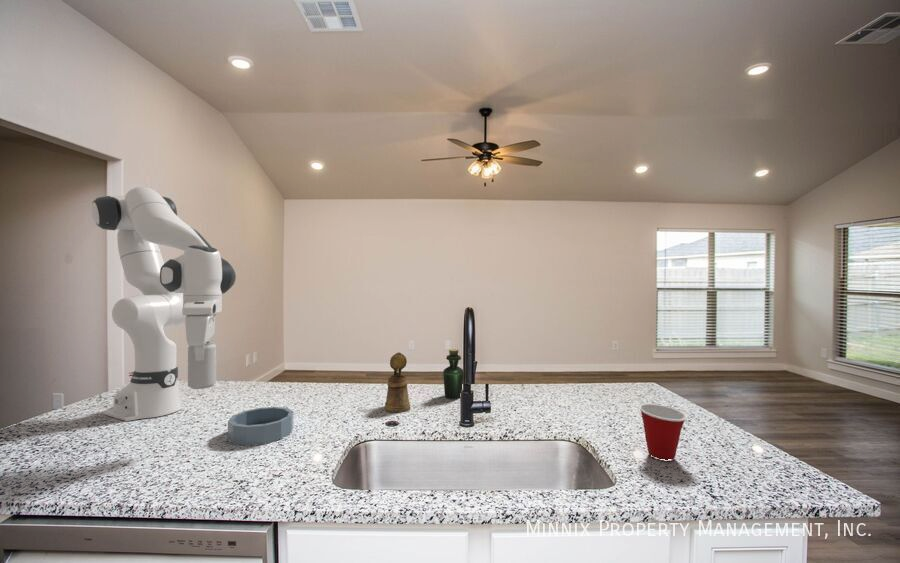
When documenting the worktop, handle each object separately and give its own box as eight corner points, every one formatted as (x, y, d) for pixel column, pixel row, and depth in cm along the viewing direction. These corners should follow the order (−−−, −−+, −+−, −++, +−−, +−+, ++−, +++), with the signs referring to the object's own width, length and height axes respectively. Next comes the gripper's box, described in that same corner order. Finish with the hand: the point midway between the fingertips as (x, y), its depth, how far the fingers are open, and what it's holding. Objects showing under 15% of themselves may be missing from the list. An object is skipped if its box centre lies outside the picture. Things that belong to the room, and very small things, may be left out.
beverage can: (202, 390, 100) (202, 344, 100) (181, 389, 101) (182, 343, 101) (221, 384, 106) (222, 340, 106) (201, 382, 107) (202, 339, 108)
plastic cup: (686, 471, 91) (687, 420, 91) (636, 459, 97) (636, 411, 97) (687, 454, 100) (687, 407, 101) (641, 444, 106) (641, 400, 106)
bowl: (214, 441, 106) (214, 423, 106) (258, 420, 122) (258, 404, 122) (265, 448, 102) (265, 429, 102) (304, 426, 117) (304, 409, 117)
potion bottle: (447, 392, 155) (448, 347, 155) (466, 395, 152) (467, 349, 152) (439, 398, 148) (439, 350, 148) (459, 400, 144) (459, 352, 145)
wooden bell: (410, 400, 145) (411, 352, 145) (410, 412, 131) (410, 359, 131) (386, 400, 144) (386, 352, 144) (383, 413, 130) (384, 359, 130)
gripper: (195, 304, 112) (195, 352, 112) (180, 308, 93) (180, 366, 93) (220, 303, 115) (220, 350, 114) (211, 308, 96) (210, 364, 96)
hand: (202, 357), depth 104 cm, fingers closed on beverage can, 6 cm apart
